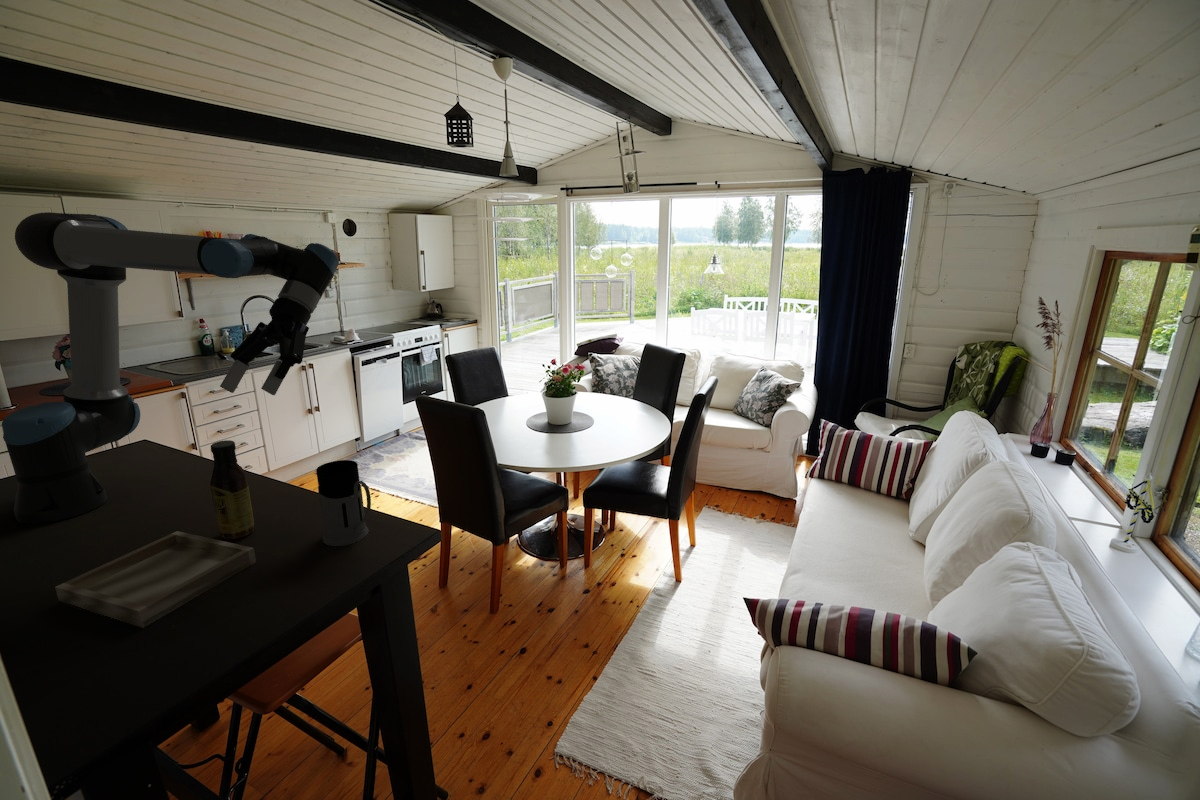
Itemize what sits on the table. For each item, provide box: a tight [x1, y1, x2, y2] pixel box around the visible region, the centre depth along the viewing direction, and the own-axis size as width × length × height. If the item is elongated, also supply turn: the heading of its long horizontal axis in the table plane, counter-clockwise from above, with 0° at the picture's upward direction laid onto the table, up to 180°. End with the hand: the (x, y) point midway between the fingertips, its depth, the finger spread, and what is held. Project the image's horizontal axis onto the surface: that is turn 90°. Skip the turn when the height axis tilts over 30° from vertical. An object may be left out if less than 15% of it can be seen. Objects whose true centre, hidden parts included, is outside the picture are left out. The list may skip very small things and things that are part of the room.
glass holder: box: [315, 459, 372, 547], centre depth 112 cm, size 9×14×15 cm, turn 56°
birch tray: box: [54, 530, 257, 629], centre depth 100 cm, size 20×20×3 cm
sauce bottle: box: [209, 439, 255, 541], centre depth 114 cm, size 6×6×20 cm
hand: (246, 391), depth 115 cm, fingers open, 13 cm apart
